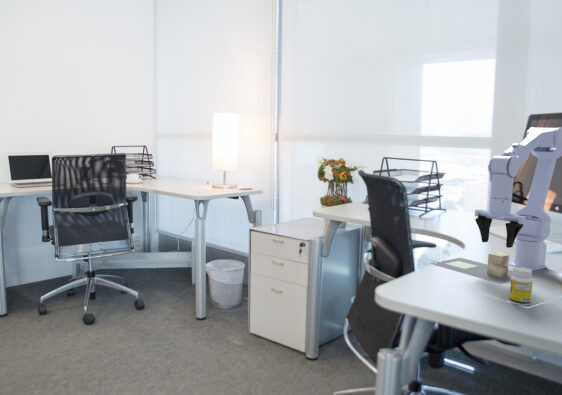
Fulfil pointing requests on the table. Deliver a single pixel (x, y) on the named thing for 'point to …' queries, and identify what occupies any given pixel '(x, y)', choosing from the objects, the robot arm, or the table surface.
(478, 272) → the mat
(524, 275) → the supplement bottle
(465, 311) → the table surface
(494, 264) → the birch block
